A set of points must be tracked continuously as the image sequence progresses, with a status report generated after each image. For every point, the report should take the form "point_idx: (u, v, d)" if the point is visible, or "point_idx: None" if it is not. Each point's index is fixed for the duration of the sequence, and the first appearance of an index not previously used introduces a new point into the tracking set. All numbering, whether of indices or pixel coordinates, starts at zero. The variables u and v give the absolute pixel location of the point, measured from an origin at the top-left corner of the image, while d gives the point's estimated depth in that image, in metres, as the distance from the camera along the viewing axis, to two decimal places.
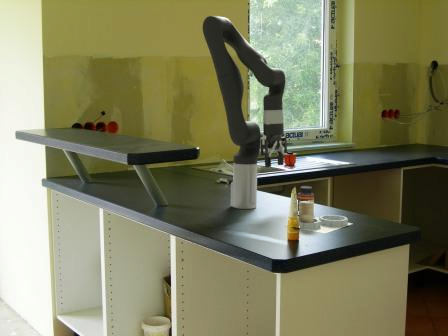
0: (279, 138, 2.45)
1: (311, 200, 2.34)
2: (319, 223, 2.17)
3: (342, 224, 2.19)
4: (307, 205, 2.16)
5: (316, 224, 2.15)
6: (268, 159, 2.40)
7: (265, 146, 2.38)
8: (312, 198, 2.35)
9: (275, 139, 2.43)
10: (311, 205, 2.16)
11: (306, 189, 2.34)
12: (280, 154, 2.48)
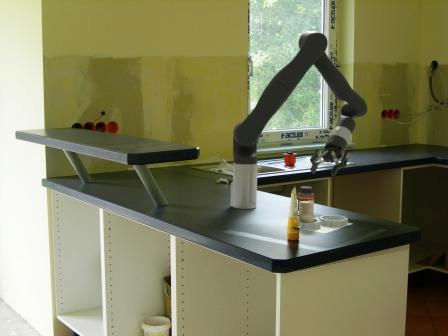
0: None
1: (311, 200, 2.34)
2: (319, 223, 2.17)
3: (342, 224, 2.19)
4: (307, 205, 2.16)
5: (316, 224, 2.15)
6: None
7: (347, 160, 2.44)
8: (312, 198, 2.35)
9: None
10: (310, 205, 2.16)
11: (306, 189, 2.34)
12: (317, 164, 2.49)
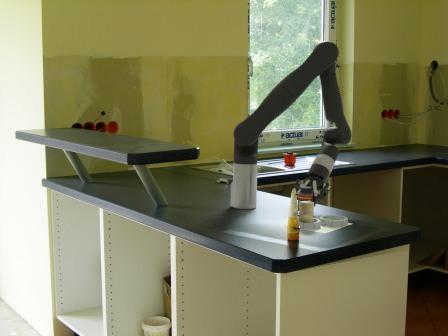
0: None
1: None
2: (319, 223, 2.17)
3: (342, 224, 2.19)
4: (307, 205, 2.16)
5: (316, 224, 2.15)
6: None
7: (327, 192, 2.35)
8: None
9: None
10: (311, 205, 2.16)
11: (306, 189, 2.34)
12: None
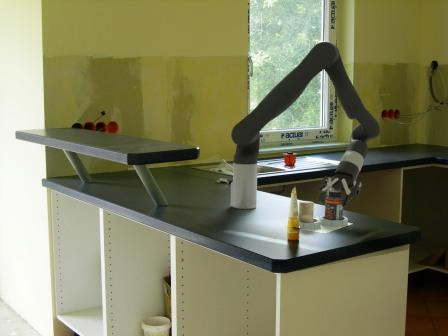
0: None
1: (340, 205, 2.20)
2: (319, 223, 2.17)
3: (342, 224, 2.19)
4: (307, 205, 2.16)
5: (316, 224, 2.15)
6: None
7: (359, 189, 2.21)
8: (341, 202, 2.21)
9: None
10: (311, 205, 2.16)
11: (335, 193, 2.20)
12: (326, 193, 2.26)
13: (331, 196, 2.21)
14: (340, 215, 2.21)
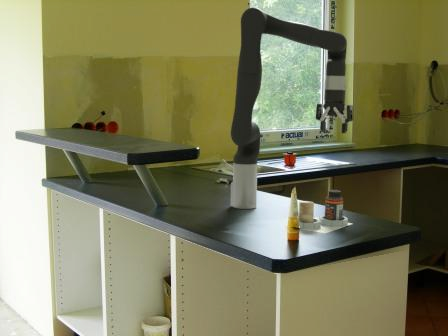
0: None
1: (340, 205, 2.20)
2: (319, 223, 2.17)
3: (342, 224, 2.19)
4: (307, 205, 2.16)
5: (316, 224, 2.15)
6: None
7: (352, 112, 2.39)
8: (341, 202, 2.21)
9: None
10: (311, 205, 2.16)
11: (335, 193, 2.20)
12: (324, 121, 2.46)
13: (331, 196, 2.20)
14: (340, 215, 2.21)
